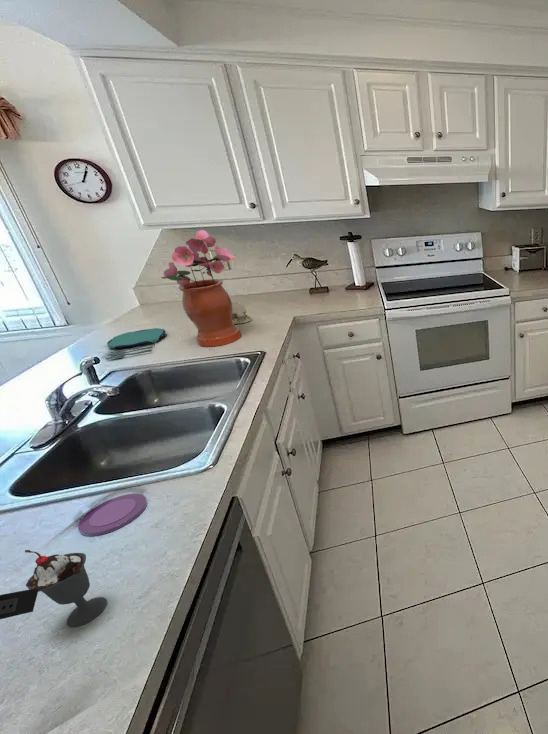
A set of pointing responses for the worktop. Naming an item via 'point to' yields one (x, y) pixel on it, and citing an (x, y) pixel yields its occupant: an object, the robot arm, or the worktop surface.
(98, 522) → the plum plate
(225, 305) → the potted flower
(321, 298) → the worktop surface
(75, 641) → the worktop surface
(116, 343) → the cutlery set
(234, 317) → the ceramic model
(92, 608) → the sundae
